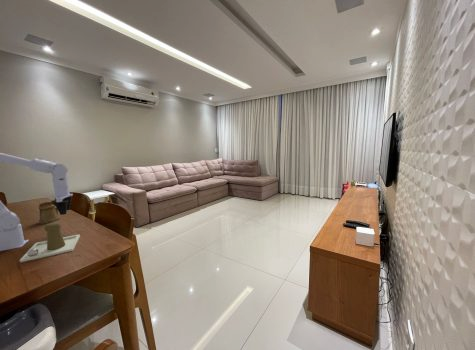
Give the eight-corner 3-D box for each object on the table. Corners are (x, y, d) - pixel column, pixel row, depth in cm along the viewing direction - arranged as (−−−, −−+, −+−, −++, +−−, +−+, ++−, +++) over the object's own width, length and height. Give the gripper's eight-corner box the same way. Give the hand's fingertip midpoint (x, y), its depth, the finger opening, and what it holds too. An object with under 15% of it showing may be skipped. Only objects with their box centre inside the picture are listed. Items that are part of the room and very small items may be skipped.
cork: (54, 251, 84) (49, 226, 82) (43, 249, 86) (38, 225, 84) (68, 244, 90) (65, 221, 88) (58, 242, 91) (54, 220, 90)
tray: (20, 263, 76) (19, 260, 76) (36, 245, 90) (35, 242, 90) (73, 251, 84) (72, 248, 84) (80, 237, 98) (79, 234, 98)
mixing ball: (26, 259, 78) (25, 251, 78) (29, 255, 81) (28, 248, 81) (37, 257, 80) (36, 249, 79) (40, 253, 83) (39, 246, 82)
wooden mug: (70, 217, 127) (66, 189, 124) (41, 224, 115) (36, 194, 112) (65, 214, 131) (60, 188, 128) (36, 221, 120) (31, 193, 117)
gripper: (67, 188, 98) (71, 214, 100) (74, 183, 110) (77, 207, 112) (48, 190, 94) (53, 217, 96) (57, 185, 107) (61, 209, 109)
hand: (65, 212), depth 104 cm, fingers open, 7 cm apart
